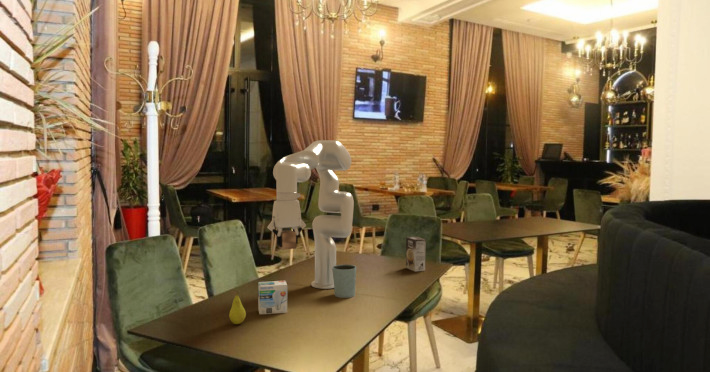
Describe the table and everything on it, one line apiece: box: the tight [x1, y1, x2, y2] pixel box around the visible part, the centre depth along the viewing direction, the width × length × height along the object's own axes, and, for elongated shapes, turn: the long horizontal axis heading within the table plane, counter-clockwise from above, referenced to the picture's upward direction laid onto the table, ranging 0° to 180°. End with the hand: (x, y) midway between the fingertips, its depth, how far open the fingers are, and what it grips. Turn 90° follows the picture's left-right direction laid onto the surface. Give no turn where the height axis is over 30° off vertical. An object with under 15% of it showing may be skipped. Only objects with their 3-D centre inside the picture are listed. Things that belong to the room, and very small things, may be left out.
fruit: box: [228, 291, 247, 325], centre depth 179 cm, size 6×6×12 cm
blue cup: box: [332, 263, 357, 299], centre depth 215 cm, size 10×10×12 cm
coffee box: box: [405, 236, 427, 272], centre depth 261 cm, size 9×6×16 cm
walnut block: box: [278, 229, 297, 250], centre depth 191 cm, size 5×5×6 cm
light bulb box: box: [257, 280, 288, 315], centre depth 194 cm, size 11×7×11 cm, turn 105°
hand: (287, 245), depth 191 cm, fingers closed on walnut block, 5 cm apart
